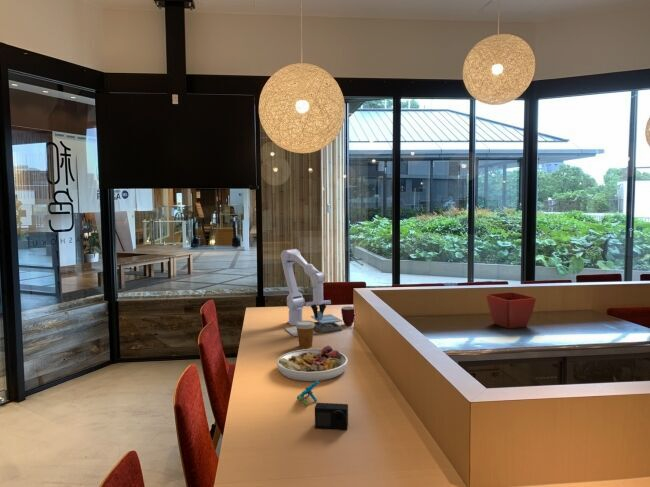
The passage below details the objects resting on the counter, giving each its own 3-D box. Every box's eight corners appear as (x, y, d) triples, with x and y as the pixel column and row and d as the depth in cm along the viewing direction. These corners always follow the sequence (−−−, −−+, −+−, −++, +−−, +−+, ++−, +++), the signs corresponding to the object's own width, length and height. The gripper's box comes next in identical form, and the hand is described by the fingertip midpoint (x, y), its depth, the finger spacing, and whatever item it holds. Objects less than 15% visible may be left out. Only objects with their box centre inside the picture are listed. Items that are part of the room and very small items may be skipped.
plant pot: (512, 319, 283) (512, 291, 281) (536, 327, 265) (536, 297, 263) (485, 322, 277) (485, 294, 275) (507, 331, 259) (508, 300, 257)
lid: (310, 317, 276) (310, 309, 275) (330, 315, 281) (330, 307, 280) (321, 324, 261) (321, 315, 260) (342, 322, 265) (342, 313, 265)
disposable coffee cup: (317, 344, 242) (317, 320, 241) (311, 349, 233) (310, 325, 232) (300, 342, 245) (299, 319, 244) (293, 348, 236) (292, 324, 235)
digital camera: (314, 430, 152) (313, 409, 151) (316, 422, 157) (316, 402, 156) (346, 432, 150) (346, 410, 149) (348, 424, 155) (348, 403, 155)
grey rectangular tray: (311, 326, 276) (311, 322, 276) (330, 323, 281) (330, 320, 281) (321, 333, 261) (321, 329, 261) (341, 330, 266) (341, 326, 266)
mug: (361, 325, 277) (361, 308, 276) (353, 328, 270) (353, 310, 269) (346, 322, 283) (346, 305, 282) (338, 325, 277) (338, 308, 276)
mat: (284, 329, 270) (284, 328, 270) (306, 326, 275) (306, 325, 275) (294, 336, 255) (294, 335, 255) (316, 333, 260) (316, 332, 260)
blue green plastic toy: (308, 388, 181) (321, 375, 176) (318, 401, 180) (331, 388, 174) (289, 402, 173) (302, 388, 167) (299, 415, 171) (312, 402, 165)
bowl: (323, 390, 184) (323, 370, 184) (262, 375, 200) (262, 357, 200) (359, 366, 210) (359, 348, 209) (303, 355, 226) (303, 339, 225)
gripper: (308, 296, 261) (308, 320, 262) (332, 294, 267) (333, 317, 268) (304, 294, 268) (304, 317, 269) (327, 291, 273) (328, 315, 274)
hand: (318, 317), depth 269 cm, fingers closed on lid, 2 cm apart
